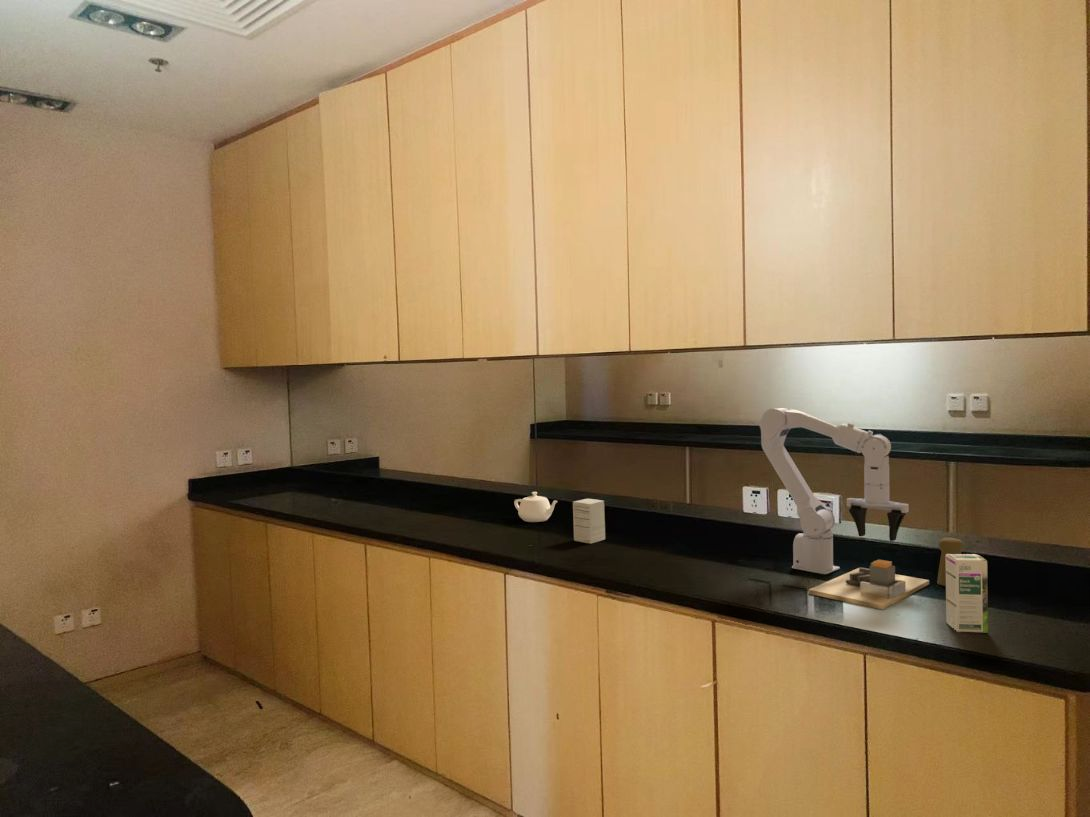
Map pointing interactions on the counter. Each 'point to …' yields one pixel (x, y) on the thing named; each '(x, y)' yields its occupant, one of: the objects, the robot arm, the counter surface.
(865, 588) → the end holder
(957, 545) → the cork
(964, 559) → the syrup box
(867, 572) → the clip
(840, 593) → the board
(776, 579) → the counter surface
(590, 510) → the supplement box
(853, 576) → the middle clip
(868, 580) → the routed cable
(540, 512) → the teapot
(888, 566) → the grey upright block
